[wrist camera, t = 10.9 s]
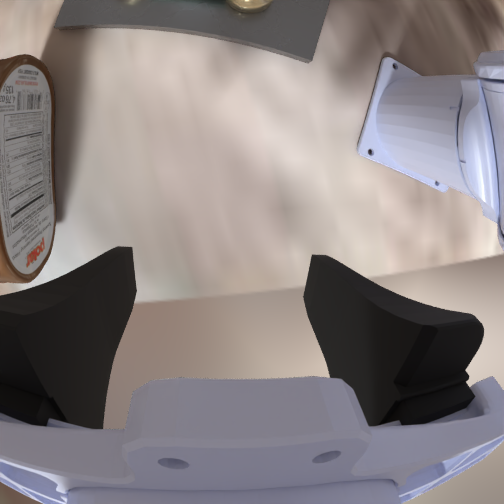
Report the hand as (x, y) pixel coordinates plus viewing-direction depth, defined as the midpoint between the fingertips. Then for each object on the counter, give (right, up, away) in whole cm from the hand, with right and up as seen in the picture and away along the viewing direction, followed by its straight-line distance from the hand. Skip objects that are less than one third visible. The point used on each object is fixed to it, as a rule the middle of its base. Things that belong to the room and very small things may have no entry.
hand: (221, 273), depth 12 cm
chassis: (-2, +20, 0) cm, 20 cm away
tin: (-14, +8, +6) cm, 17 cm away
